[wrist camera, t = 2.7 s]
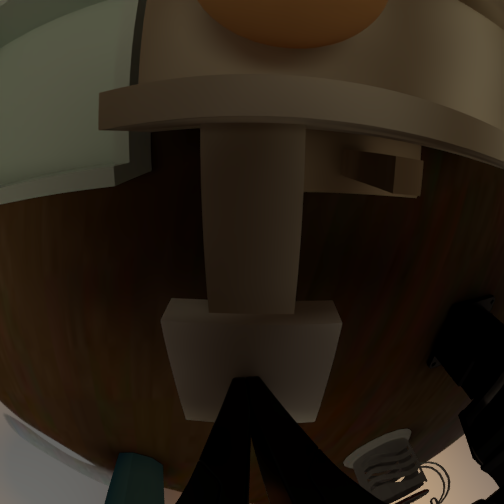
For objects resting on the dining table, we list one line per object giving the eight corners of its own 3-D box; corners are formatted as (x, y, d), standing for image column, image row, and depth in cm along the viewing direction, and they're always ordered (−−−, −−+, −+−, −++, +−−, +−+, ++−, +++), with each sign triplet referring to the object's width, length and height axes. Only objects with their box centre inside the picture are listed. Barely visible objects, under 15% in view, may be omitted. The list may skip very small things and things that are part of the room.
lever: (523, 48, 4) (577, 45, 1) (477, 355, 11) (510, 401, 7) (166, -42, 5) (127, -103, 1) (183, 382, 11) (164, 458, 7)
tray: (160, -15, 8) (140, -63, 3) (151, 170, 11) (114, 186, 7) (-1, 45, 7) (-45, 36, 2) (-7, 196, 10) (-56, 219, 6)
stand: (401, 2, 8) (454, -25, 4) (408, 194, 13) (472, 222, 8) (263, -31, 8) (282, -89, 3) (263, 188, 12) (287, 216, 8)
